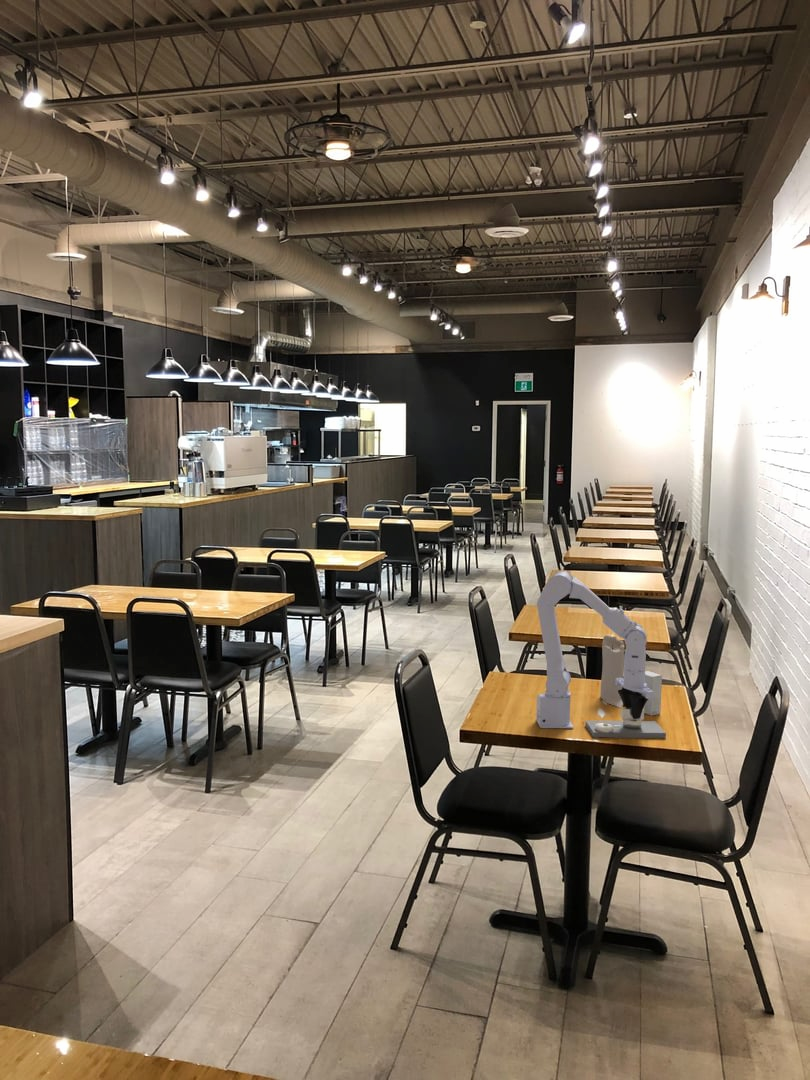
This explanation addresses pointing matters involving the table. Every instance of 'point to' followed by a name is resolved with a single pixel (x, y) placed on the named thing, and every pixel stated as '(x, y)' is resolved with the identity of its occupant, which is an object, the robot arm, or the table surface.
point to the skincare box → (655, 685)
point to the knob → (630, 718)
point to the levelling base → (624, 730)
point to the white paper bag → (612, 669)
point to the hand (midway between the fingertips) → (632, 716)
